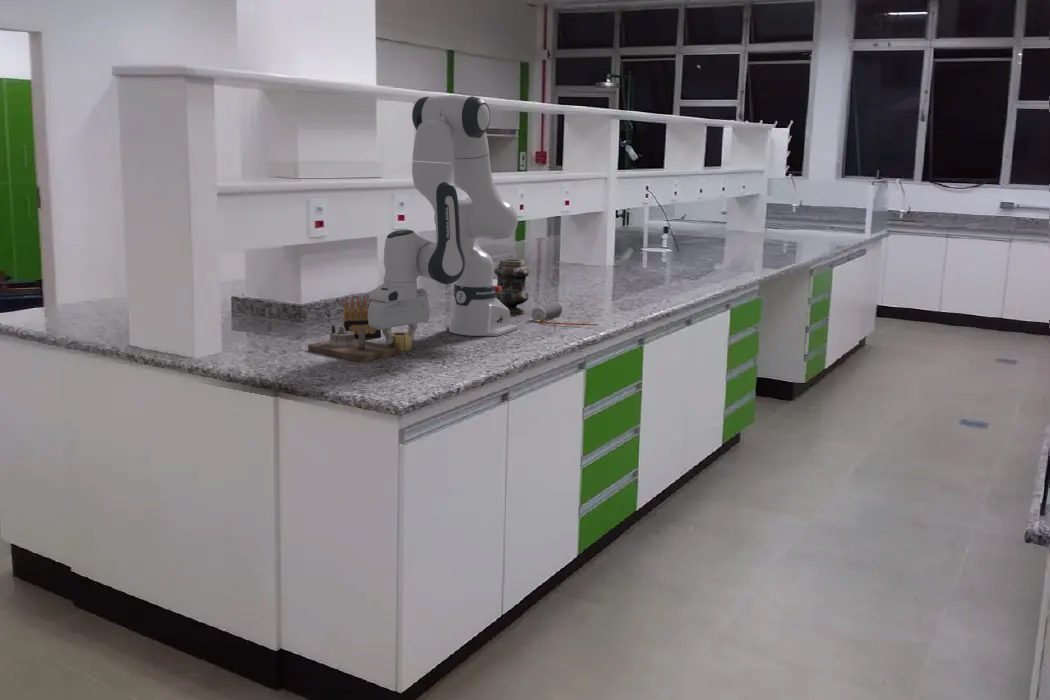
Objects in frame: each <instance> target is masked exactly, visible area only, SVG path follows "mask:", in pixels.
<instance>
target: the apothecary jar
mask: <svg viewBox="0 0 1050 700" xmlns="http://www.w3.org/2000/svg"><path fill="white" fill-rule="evenodd" d="M493 273H494V274H495V275H496V276H497V279H496V281H497V282H496V283H497V284H496V286H501V287H502V288H501V289H502V291H501V292H500V293H498V292H496V298H497V299H498V300H499V301H500V302H501V303H502V304H503V305H505V306H506V307H507V308H508V309H509V311H510V314H517V315H523V314H526V311H525V310H524V309H523V308H520V307H518V305H521V304H524V303H526V302H527V301H528V300H529V297H530V295H529V293H528V291H527V290H526V277H528V275H530V269H529V268H528V266H527V265H526V260H524V259H520V258H507V257H506V258H500V259H499V262H498V265H497V266H495V267H494V268H493Z"/></svg>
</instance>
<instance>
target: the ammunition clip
mask: <svg viewBox="0 0 1050 700" xmlns="http://www.w3.org/2000/svg"><path fill="white" fill-rule="evenodd" d="M344 297H345V298H344V301H343V302H344V303H343V314H342V315H343V316H342V317H343V320H342V321H343V323H342V326H343V327H345V331H350V332H354V339H359V328H360V327H364V328H365V339H379V338H380V339H381V338H382V332H381V330H382V329H381V330H376V329H372V328H370V326H369V324H368V305H369V304H370V302H371V301H372V300H371V299H370V298H369V301H367V300H368V299H367V297H366V296H365V295H364V296H363V299H362V301H361V297H360V296H357V299H356V303H355V299H354V298H355V297H354V296H351V299H350V302H349V300H348V299H349V298H348V297H347V295H346V296H344ZM349 303H350V305H349ZM361 303H362V305H361ZM355 305H356V306H355Z"/></svg>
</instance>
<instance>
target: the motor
mask: <svg viewBox="0 0 1050 700" xmlns="http://www.w3.org/2000/svg"><path fill="white" fill-rule="evenodd" d="M562 312H563V306H562V305H561V304H560V303H559V302H556V301H553V302H549V303H546V304H543V305H539V306H536V307H534V308H533V309H532V311H531V315H530V317H531V319H532V320H533V321H534V320H540V321H538V323H539V322H540V323H539V324H541V323H546V324H554V325H565V326H599V324H598V323H597V324H596V323H572V322H569V323H568V322H554V321H553V322H552V321H547V319H548V320H551V319H553V317H554V318H557V317H559V316H561V314H562ZM556 316H557V317H556ZM550 318H551V319H550ZM544 320H545V321H544ZM554 325H553V326H554Z"/></svg>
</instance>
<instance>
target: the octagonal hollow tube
mask: <svg viewBox="0 0 1050 700" xmlns="http://www.w3.org/2000/svg"><path fill="white" fill-rule="evenodd" d="M390 334H391V336H392V337H394V343H393V344H387V346H390V347H394V348H399V349H400V352H407V351H411V350H412V340H411V333H408V331H407V332H406V331H394V332H393V331H391V332H390Z"/></svg>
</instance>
